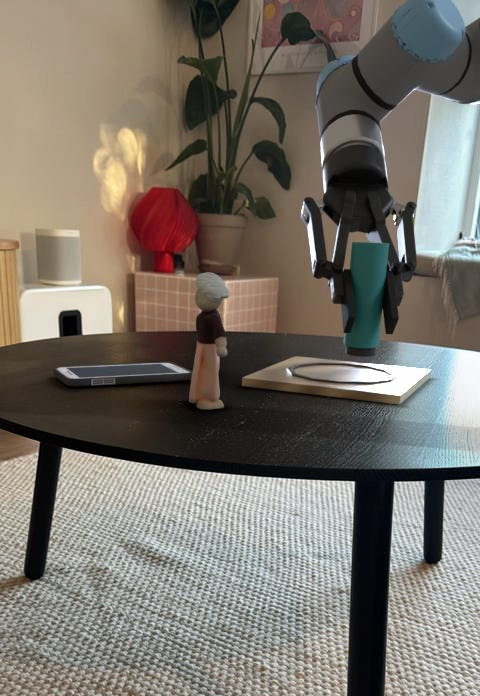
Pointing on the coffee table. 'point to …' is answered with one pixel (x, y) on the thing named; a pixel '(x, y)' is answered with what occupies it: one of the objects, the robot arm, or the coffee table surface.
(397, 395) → the board
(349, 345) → the cylinder
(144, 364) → the cell phone
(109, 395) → the coffee table surface
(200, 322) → the grandmother figurine
